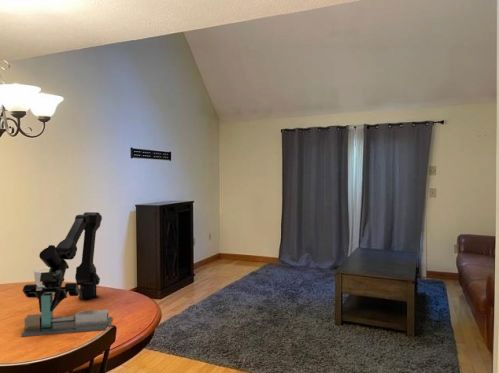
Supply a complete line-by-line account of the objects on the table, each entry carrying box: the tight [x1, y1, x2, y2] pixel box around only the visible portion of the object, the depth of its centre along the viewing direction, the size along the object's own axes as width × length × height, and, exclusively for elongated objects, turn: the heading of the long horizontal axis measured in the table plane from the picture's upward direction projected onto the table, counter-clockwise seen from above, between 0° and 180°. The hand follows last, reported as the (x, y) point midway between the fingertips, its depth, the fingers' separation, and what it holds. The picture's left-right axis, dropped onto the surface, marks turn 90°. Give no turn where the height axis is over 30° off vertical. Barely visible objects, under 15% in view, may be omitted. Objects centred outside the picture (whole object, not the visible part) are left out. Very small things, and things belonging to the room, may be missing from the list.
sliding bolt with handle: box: [40, 293, 75, 328], centre depth 138 cm, size 18×3×12 cm, turn 102°
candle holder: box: [33, 266, 55, 296], centre depth 177 cm, size 10×10×12 cm
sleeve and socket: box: [20, 308, 113, 337], centre depth 139 cm, size 29×10×5 cm, turn 102°
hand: (45, 311), depth 136 cm, fingers closed on sliding bolt with handle, 3 cm apart
